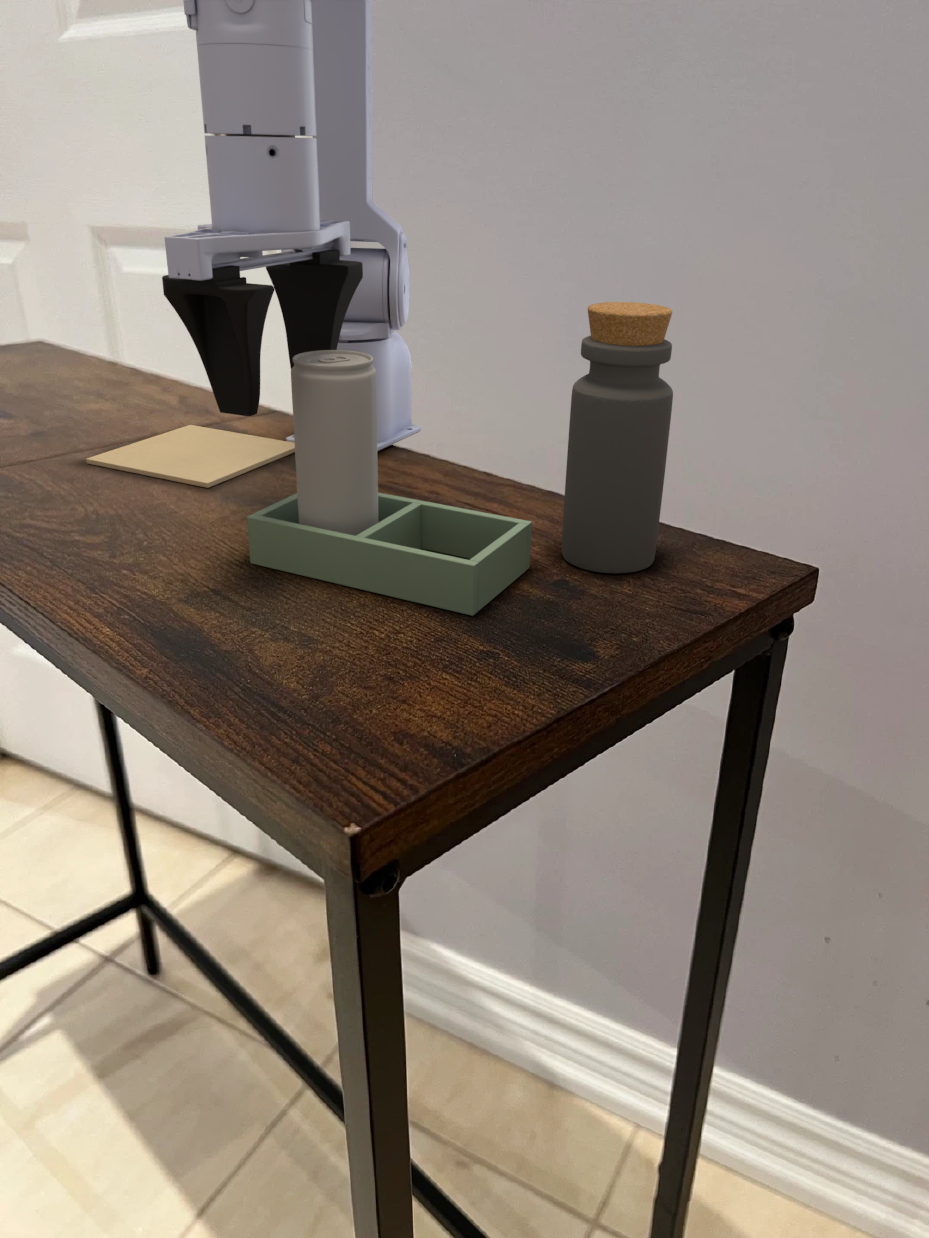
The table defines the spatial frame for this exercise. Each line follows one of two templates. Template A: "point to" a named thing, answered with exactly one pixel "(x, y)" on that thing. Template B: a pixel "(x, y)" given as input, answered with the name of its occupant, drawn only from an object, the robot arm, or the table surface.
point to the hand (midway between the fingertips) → (277, 398)
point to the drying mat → (195, 455)
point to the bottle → (618, 440)
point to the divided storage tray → (400, 551)
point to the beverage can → (335, 440)
